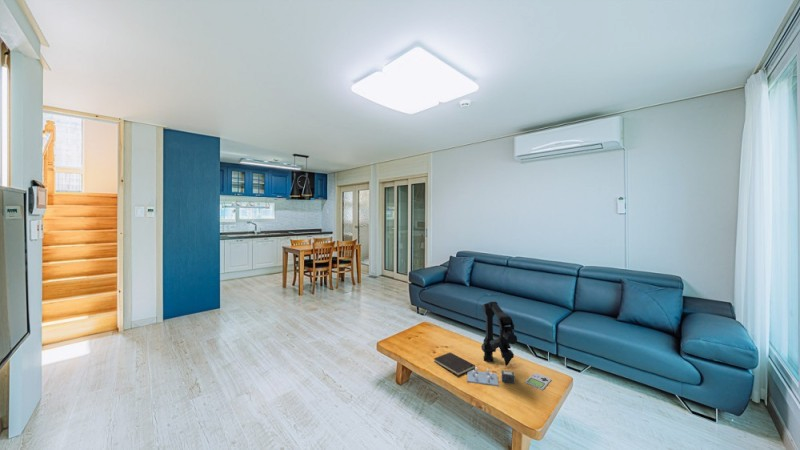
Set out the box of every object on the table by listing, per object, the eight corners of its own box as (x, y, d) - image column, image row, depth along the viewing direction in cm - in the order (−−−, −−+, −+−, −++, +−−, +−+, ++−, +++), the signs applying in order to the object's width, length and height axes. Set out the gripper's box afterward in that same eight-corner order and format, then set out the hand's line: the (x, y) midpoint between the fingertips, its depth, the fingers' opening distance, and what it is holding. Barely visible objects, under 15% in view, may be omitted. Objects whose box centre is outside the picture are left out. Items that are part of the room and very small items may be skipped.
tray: (467, 371, 180) (467, 364, 180) (496, 375, 176) (496, 368, 176) (467, 381, 169) (467, 374, 169) (498, 386, 164) (498, 379, 164)
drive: (501, 378, 172) (501, 370, 172) (513, 379, 171) (513, 371, 171) (502, 382, 168) (502, 374, 168) (514, 384, 166) (514, 375, 166)
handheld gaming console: (551, 378, 170) (542, 388, 160) (551, 380, 170) (542, 391, 160) (534, 371, 177) (524, 381, 167) (534, 374, 177) (524, 383, 167)
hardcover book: (457, 376, 173) (457, 372, 173) (433, 361, 193) (433, 358, 193) (475, 368, 182) (475, 364, 182) (450, 355, 201) (450, 352, 201)
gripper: (488, 329, 179) (488, 353, 179) (493, 342, 160) (493, 369, 161) (506, 330, 177) (506, 354, 178) (514, 343, 158) (513, 370, 159)
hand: (504, 361), depth 169 cm, fingers open, 9 cm apart
